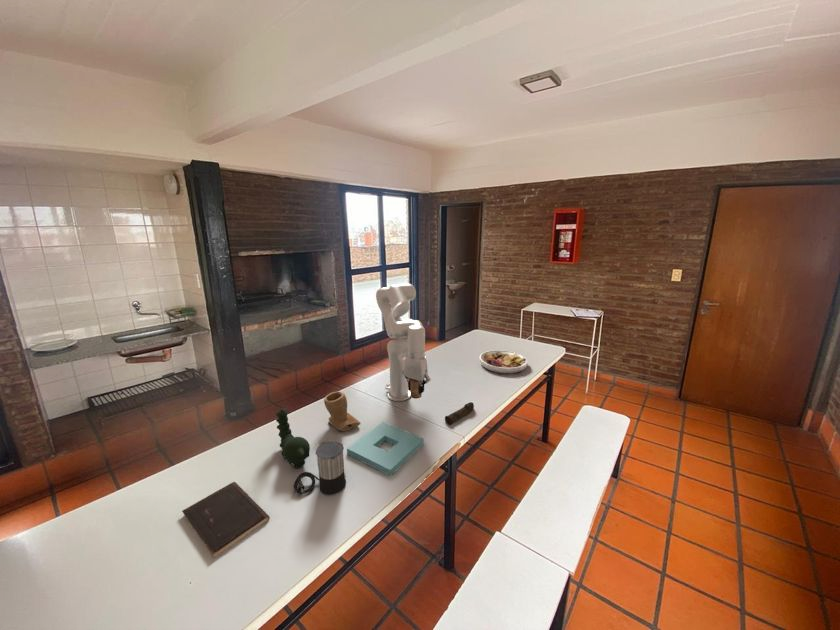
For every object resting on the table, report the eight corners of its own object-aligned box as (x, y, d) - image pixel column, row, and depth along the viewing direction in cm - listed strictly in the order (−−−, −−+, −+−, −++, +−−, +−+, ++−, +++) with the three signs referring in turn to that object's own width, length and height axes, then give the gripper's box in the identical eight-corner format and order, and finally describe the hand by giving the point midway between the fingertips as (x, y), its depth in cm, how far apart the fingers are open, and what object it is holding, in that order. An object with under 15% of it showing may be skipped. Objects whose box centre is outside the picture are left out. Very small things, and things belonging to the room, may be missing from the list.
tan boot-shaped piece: (321, 422, 154) (319, 392, 150) (345, 413, 161) (343, 384, 157) (337, 437, 142) (334, 406, 138) (361, 427, 150) (359, 397, 146)
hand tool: (450, 426, 150) (450, 417, 149) (444, 422, 153) (444, 413, 152) (477, 411, 162) (478, 403, 161) (471, 408, 165) (472, 400, 164)
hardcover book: (213, 560, 91) (212, 553, 90) (183, 516, 104) (181, 510, 104) (270, 520, 103) (269, 514, 102) (236, 486, 116) (235, 480, 116)
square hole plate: (347, 453, 132) (346, 448, 131) (382, 426, 150) (382, 421, 149) (390, 475, 120) (390, 470, 120) (423, 443, 138) (423, 438, 137)
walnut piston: (408, 396, 149) (408, 380, 147) (414, 391, 153) (414, 376, 151) (417, 399, 146) (417, 383, 144) (423, 394, 150) (423, 378, 148)
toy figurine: (273, 450, 137) (292, 481, 117) (267, 408, 133) (285, 432, 113) (296, 442, 142) (318, 470, 122) (291, 400, 139) (312, 422, 119)
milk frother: (351, 486, 116) (349, 449, 112) (308, 512, 105) (304, 472, 101) (331, 465, 126) (328, 431, 122) (290, 487, 115) (285, 450, 111)
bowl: (490, 353, 236) (491, 343, 234) (533, 363, 219) (534, 352, 217) (471, 367, 213) (471, 356, 211) (517, 380, 196) (517, 367, 194)
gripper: (395, 351, 146) (395, 389, 151) (428, 360, 137) (427, 400, 142) (405, 346, 152) (405, 382, 157) (437, 354, 143) (436, 392, 148)
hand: (416, 390), depth 149 cm, fingers closed on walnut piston, 5 cm apart
